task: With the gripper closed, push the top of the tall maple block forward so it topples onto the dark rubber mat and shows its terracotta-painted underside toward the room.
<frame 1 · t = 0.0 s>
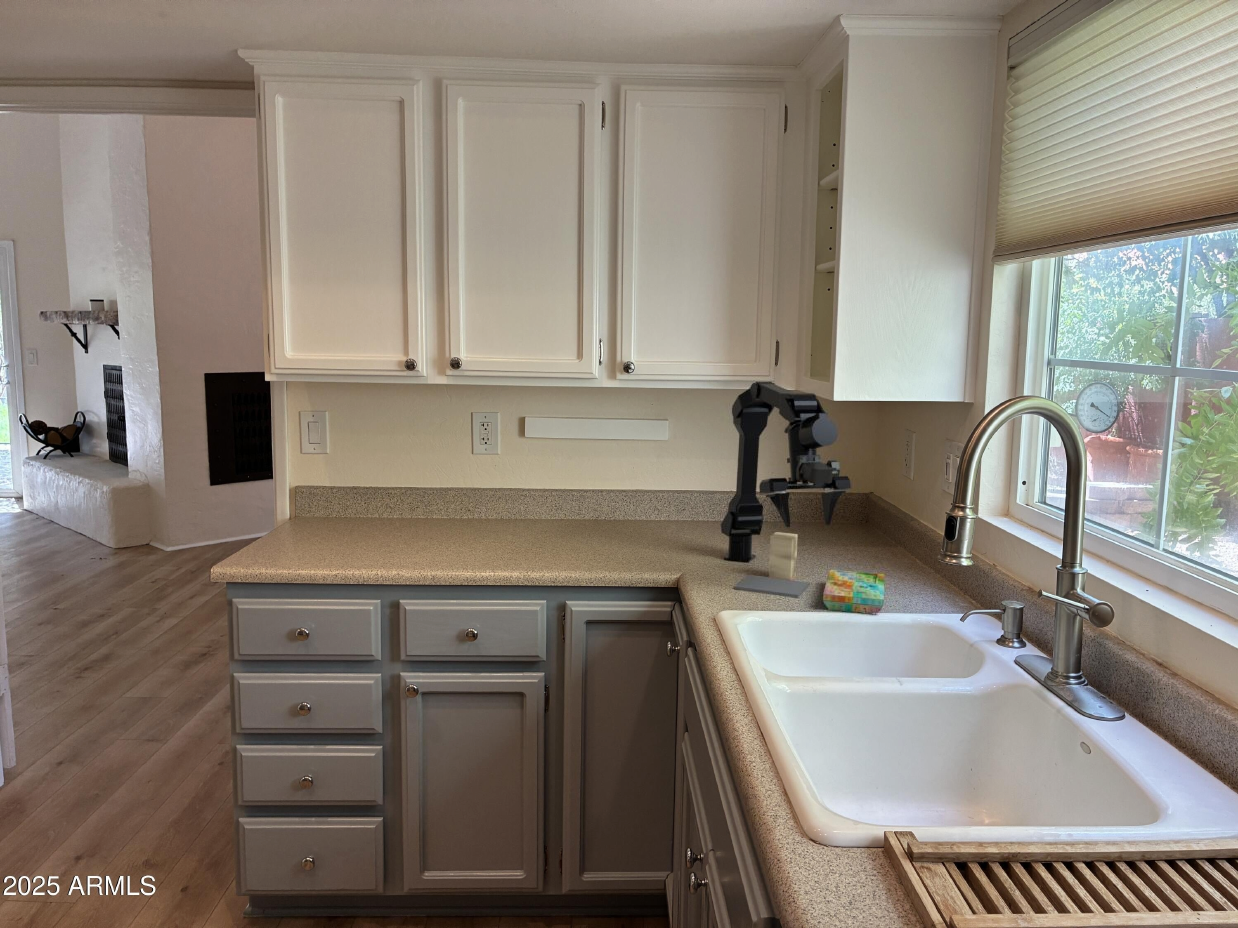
hand: (808, 526, 193), 15 cm above the worktop, tool pointing down, fingers open, 9 cm apart
puzzle game: (854, 602, 195), on the worktop
rubber mat: (772, 587, 203), on the worktop
maple block: (782, 578, 211), on the worktop
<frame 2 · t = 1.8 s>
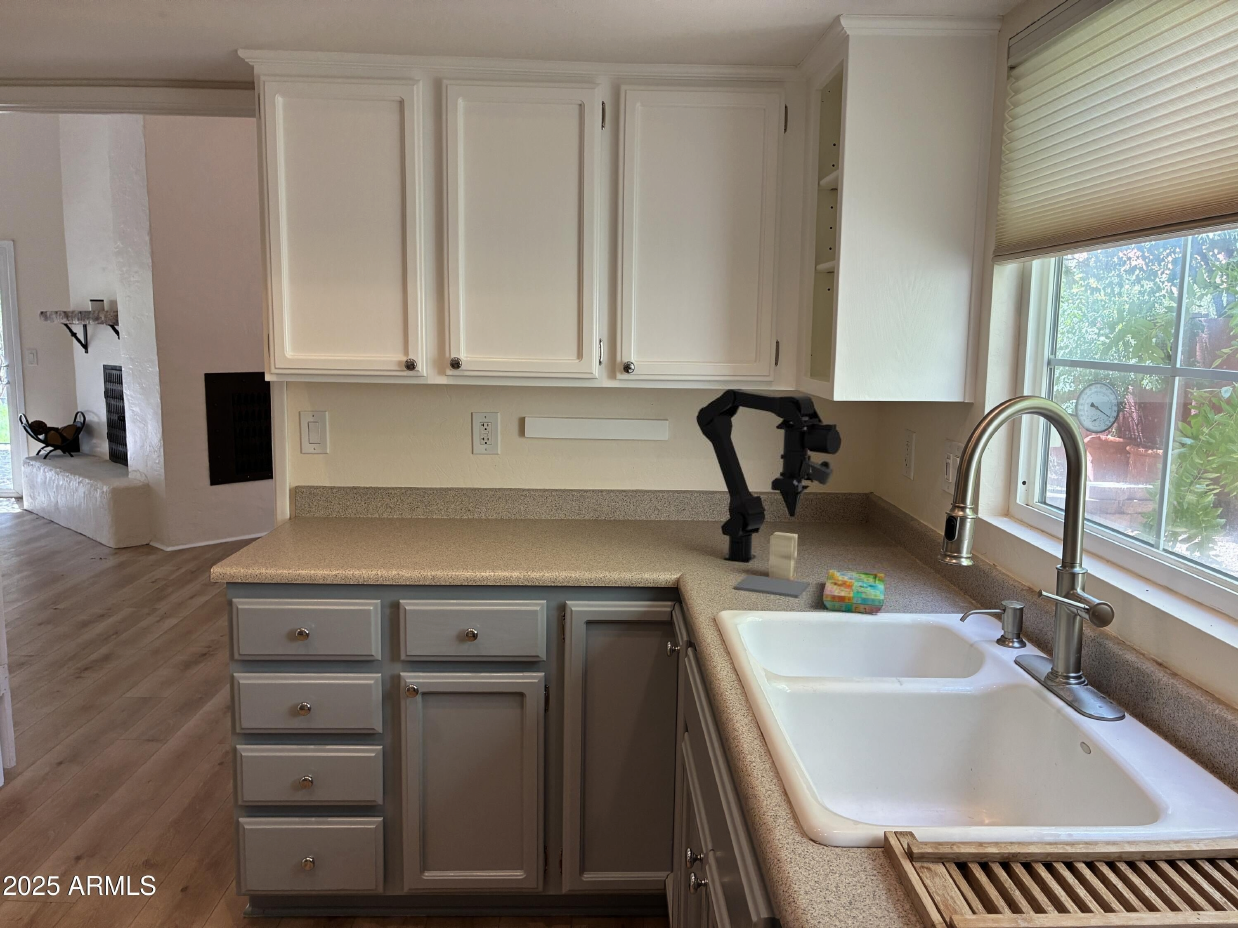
hand: (792, 516, 216), 13 cm above the worktop, tool pointing down, fingers closed
nothing on the worktop moved.
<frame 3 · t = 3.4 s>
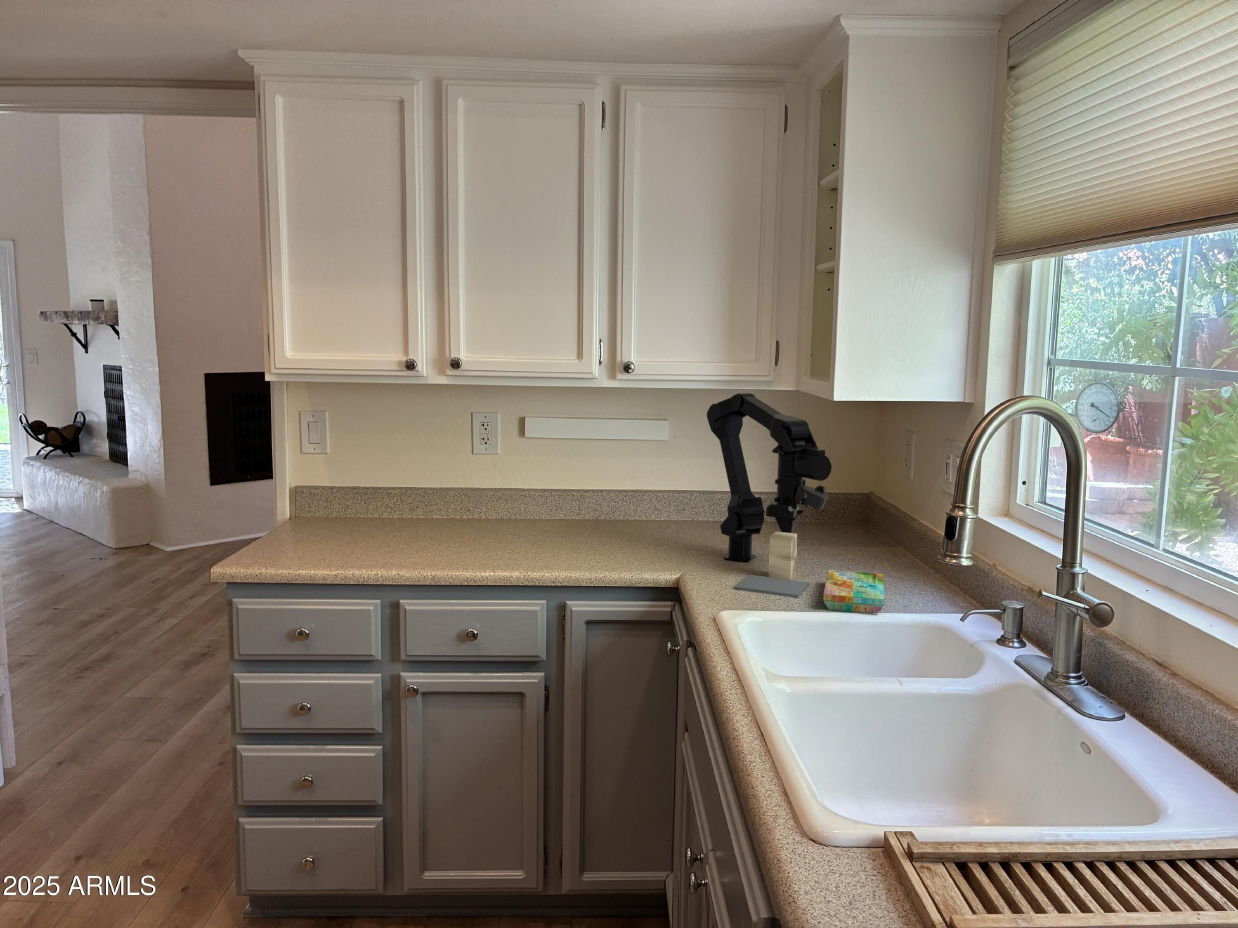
hand: (787, 541, 213), 8 cm above the worktop, tool pointing down, fingers closed
maple block: (782, 577, 211), on the worktop, touching gripper
everything else where it was.
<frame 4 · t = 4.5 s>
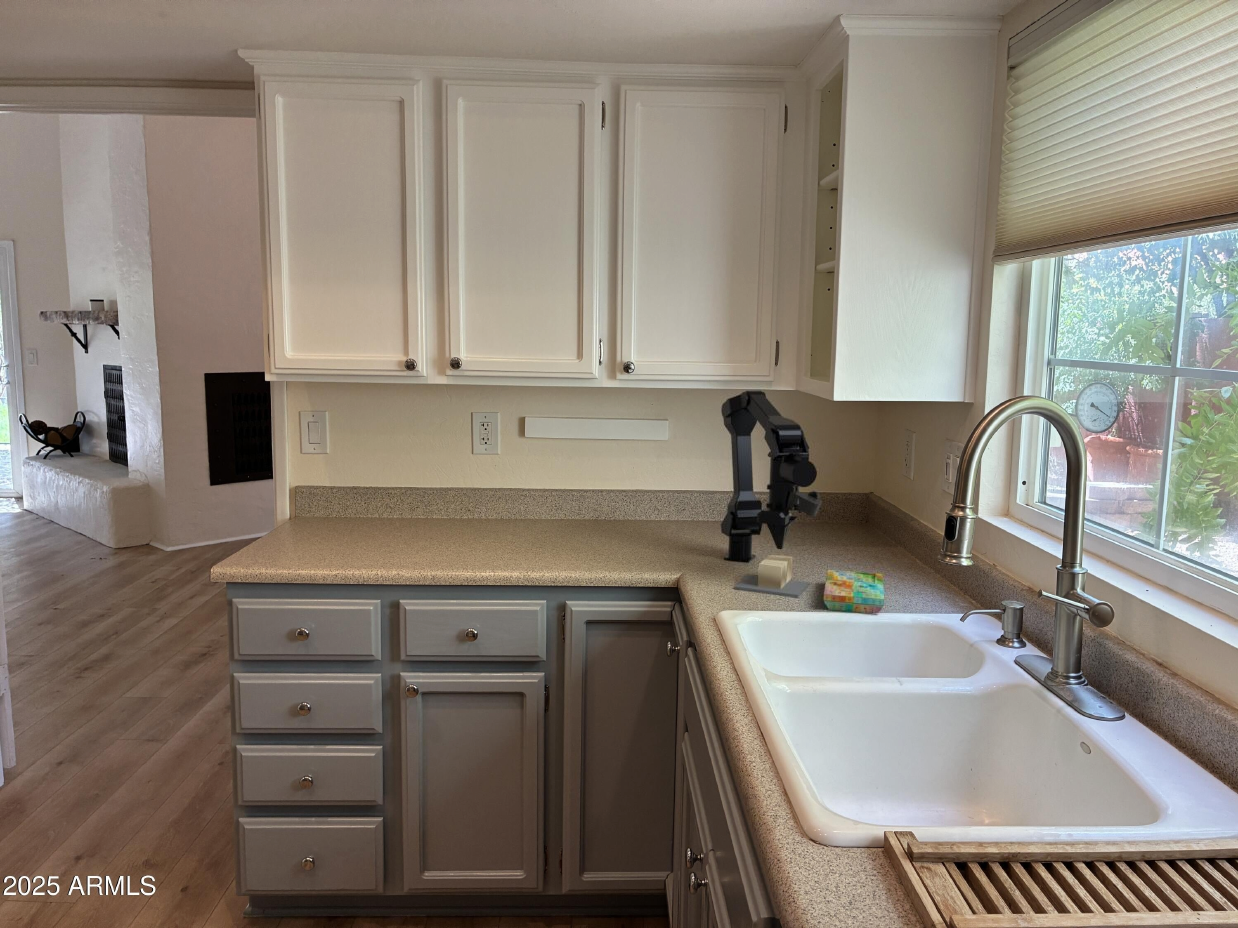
hand: (779, 548, 207), 8 cm above the worktop, tool pointing down, fingers closed
maple block: (781, 566, 209), point 3 cm above the worktop, tilted 90°, touching rubber mat
everything else where it was.
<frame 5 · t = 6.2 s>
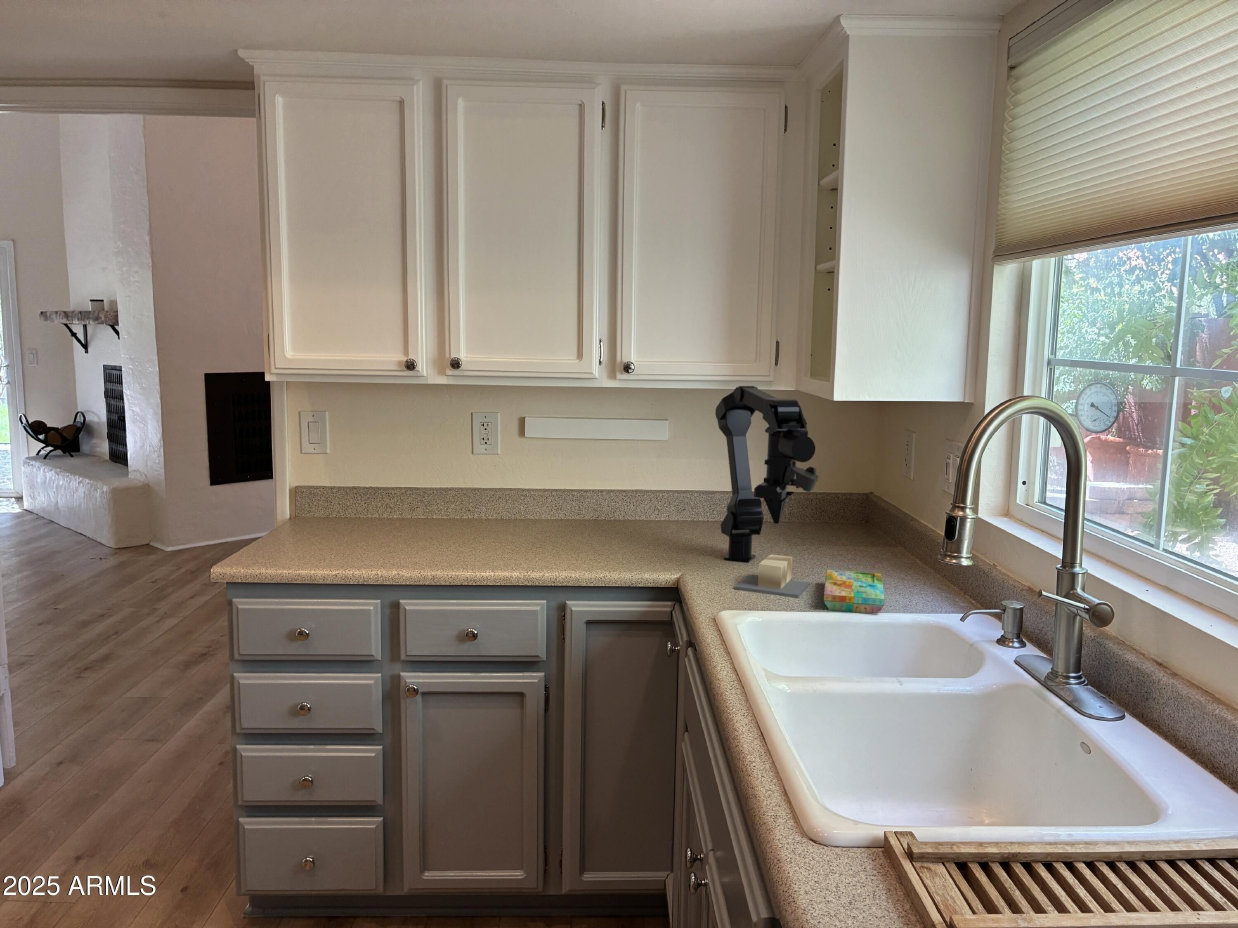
hand: (776, 523, 210), 13 cm above the worktop, tool pointing down, fingers closed
nothing on the worktop moved.
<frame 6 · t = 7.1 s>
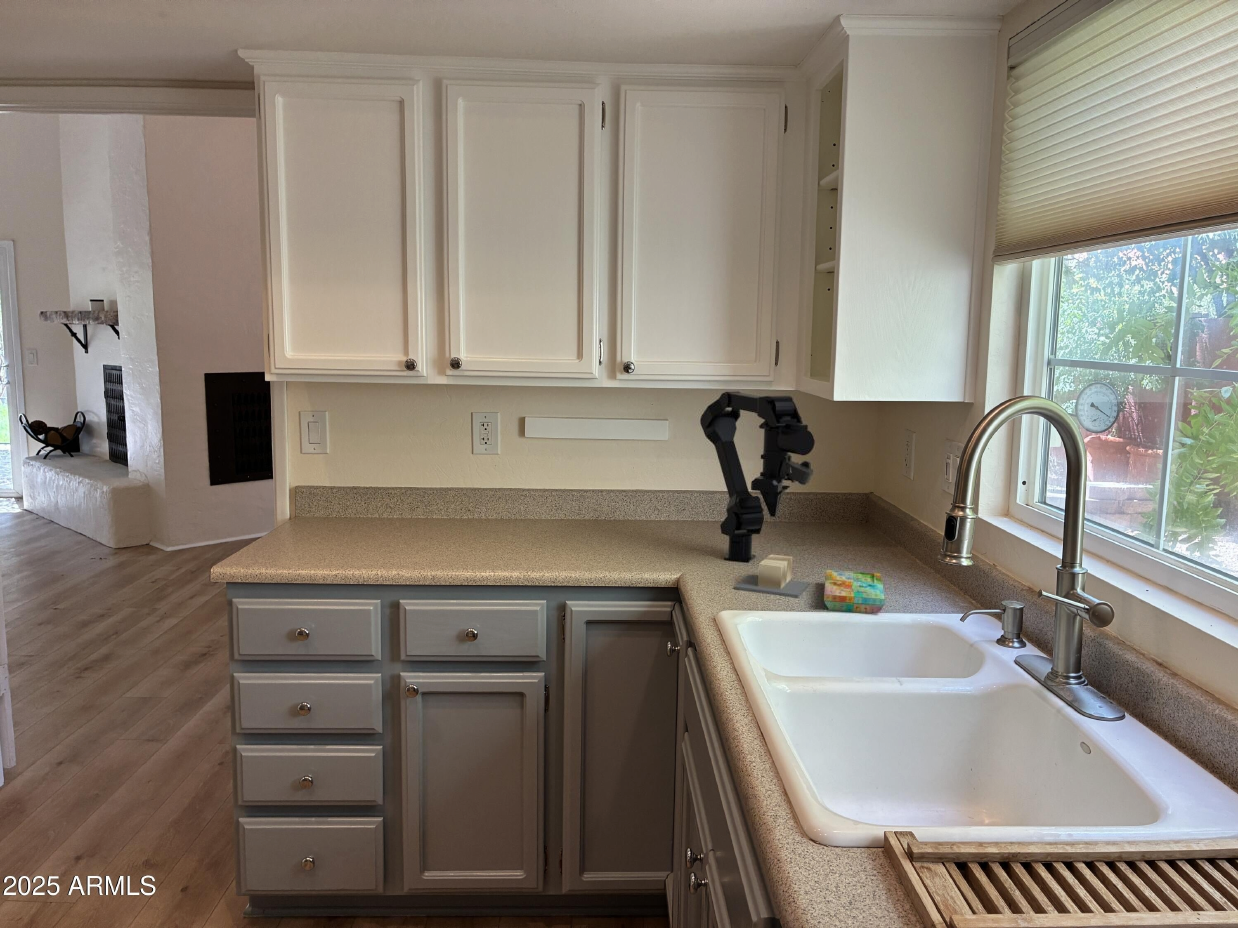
hand: (773, 516, 215), 13 cm above the worktop, tool pointing down, fingers closed
nothing on the worktop moved.
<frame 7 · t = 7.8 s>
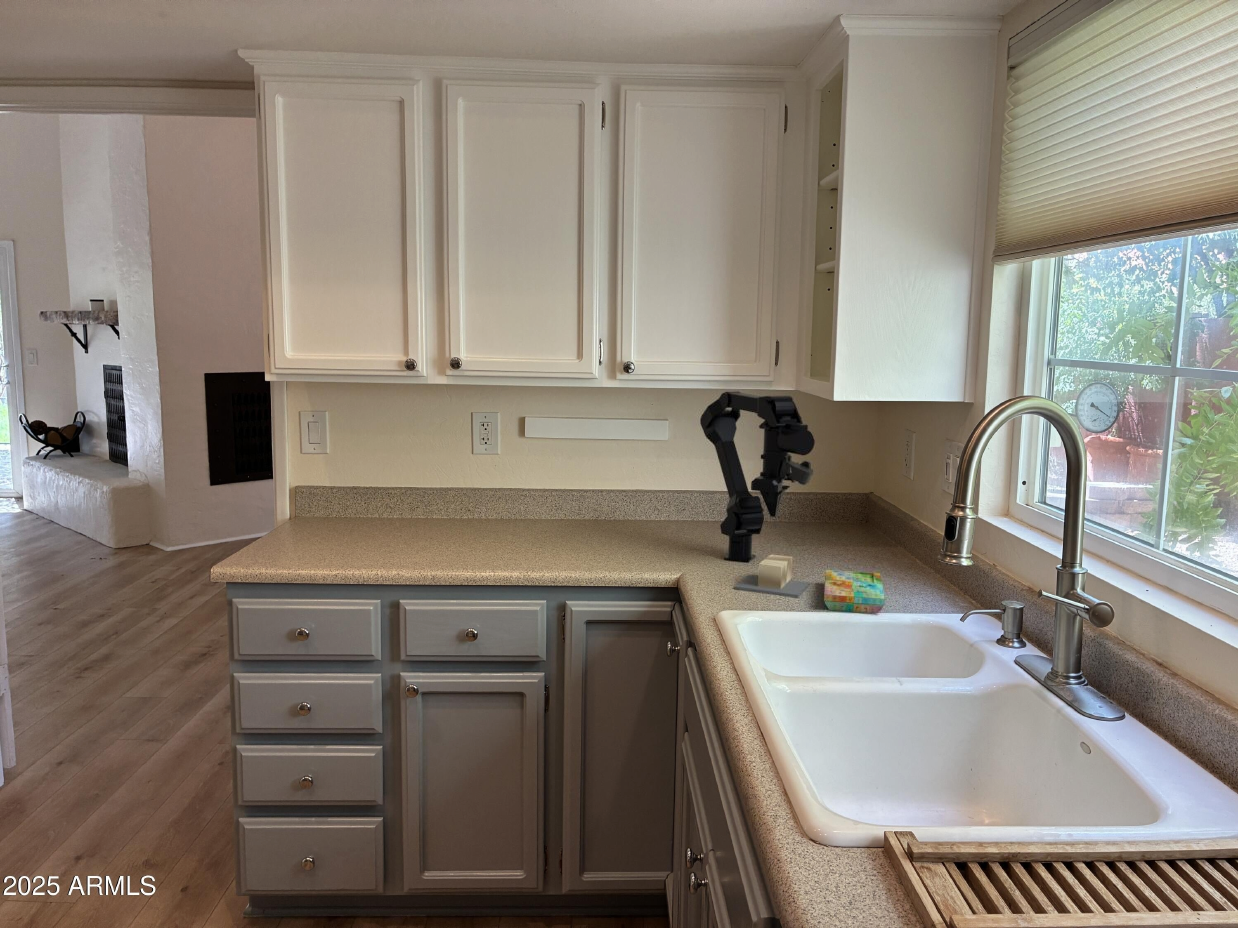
hand: (773, 516, 215), 13 cm above the worktop, tool pointing down, fingers closed
nothing on the worktop moved.
at the end: maple block tilted 90°; maple block touching rubber mat; maple block inside the target area (2.5 cm from its centre), point 3.1 cm above the worktop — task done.
